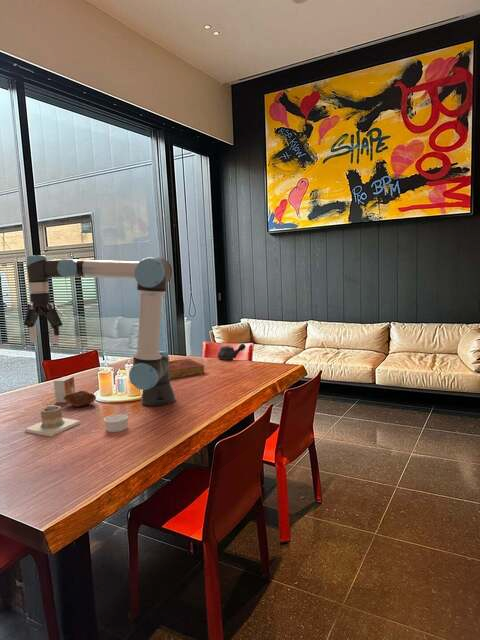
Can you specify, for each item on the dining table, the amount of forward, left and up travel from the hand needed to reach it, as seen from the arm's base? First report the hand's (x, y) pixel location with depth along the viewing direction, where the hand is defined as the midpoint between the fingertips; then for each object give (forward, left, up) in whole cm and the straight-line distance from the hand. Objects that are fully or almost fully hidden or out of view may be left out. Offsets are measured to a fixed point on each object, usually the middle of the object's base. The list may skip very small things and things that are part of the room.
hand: (44, 342), depth 182 cm
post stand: (-16, +13, -31) cm, 37 cm away
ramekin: (-41, +5, -31) cm, 52 cm away
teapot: (-28, -117, -31) cm, 124 cm away
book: (-12, -74, -31) cm, 81 cm away
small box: (+8, -15, -31) cm, 35 cm away
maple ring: (-16, +13, -29) cm, 36 cm away
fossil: (-6, -11, -31) cm, 33 cm away
